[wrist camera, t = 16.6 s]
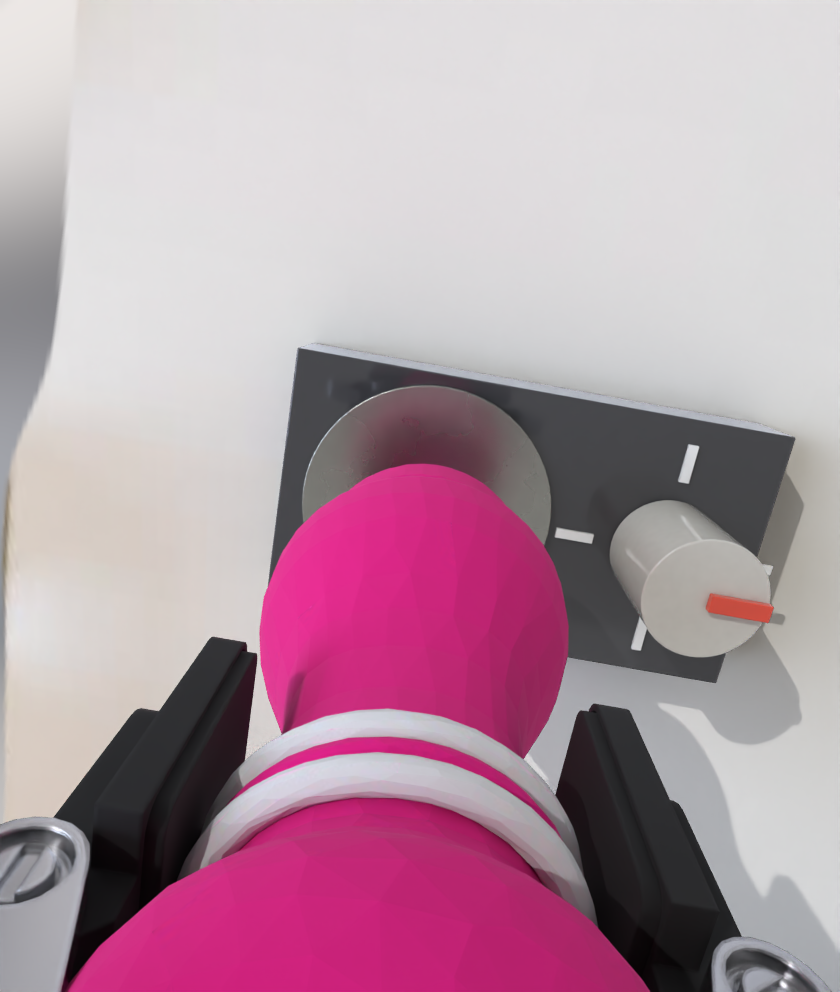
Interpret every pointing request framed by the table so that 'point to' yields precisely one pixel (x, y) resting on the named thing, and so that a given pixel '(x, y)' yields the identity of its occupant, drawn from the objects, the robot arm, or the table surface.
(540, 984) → the pepper mill
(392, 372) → the hot plate
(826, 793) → the table surface
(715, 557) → the hob knob
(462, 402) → the burner plate
